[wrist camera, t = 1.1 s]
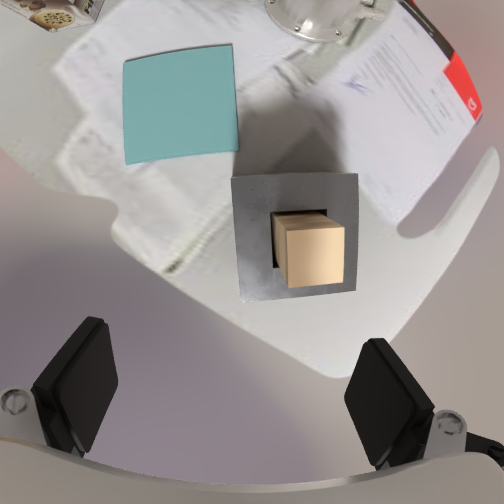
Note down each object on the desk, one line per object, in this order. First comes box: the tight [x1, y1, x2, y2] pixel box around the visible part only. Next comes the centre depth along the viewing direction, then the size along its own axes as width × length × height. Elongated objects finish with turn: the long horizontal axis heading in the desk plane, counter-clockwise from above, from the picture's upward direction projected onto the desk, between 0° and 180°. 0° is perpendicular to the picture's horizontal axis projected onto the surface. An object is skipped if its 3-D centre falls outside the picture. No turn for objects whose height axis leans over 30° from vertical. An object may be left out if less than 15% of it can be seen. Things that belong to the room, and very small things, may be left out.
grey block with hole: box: [231, 172, 359, 302], centre depth 31 cm, size 12×12×9 cm
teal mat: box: [123, 45, 239, 165], centre depth 30 cm, size 14×14×1 cm
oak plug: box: [270, 210, 344, 288], centre depth 27 cm, size 4×4×11 cm
